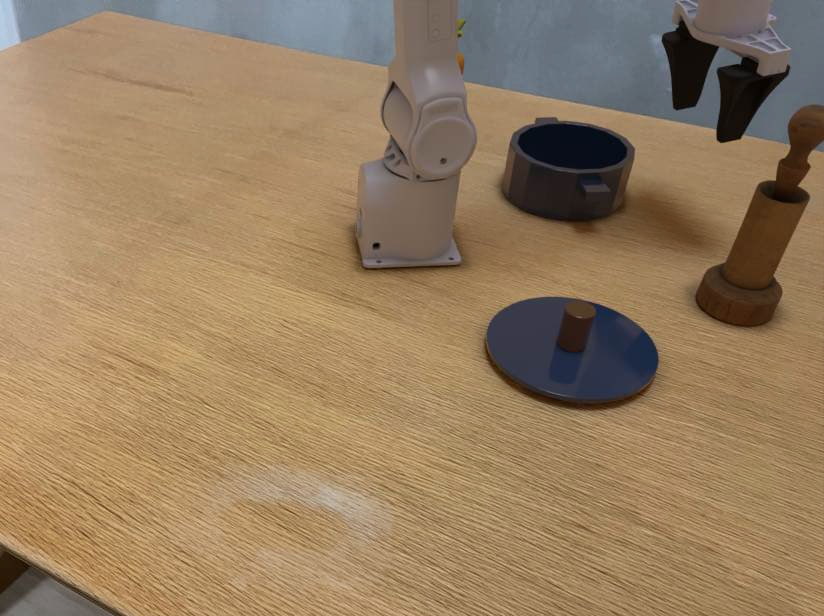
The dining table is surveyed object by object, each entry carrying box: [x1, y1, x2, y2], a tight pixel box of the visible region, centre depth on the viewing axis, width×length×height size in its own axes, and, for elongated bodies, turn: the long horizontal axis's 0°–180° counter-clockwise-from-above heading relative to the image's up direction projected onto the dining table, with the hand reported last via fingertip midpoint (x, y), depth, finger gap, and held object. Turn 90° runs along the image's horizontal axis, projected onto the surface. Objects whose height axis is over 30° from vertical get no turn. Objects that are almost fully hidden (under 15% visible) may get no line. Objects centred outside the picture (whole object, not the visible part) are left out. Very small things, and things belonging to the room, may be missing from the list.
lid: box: [485, 296, 660, 404], centre depth 67 cm, size 14×14×5 cm
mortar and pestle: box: [695, 103, 824, 327], centre depth 68 cm, size 7×6×18 cm
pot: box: [501, 116, 636, 222], centre depth 88 cm, size 13×18×5 cm
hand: (705, 123), depth 79 cm, fingers open, 7 cm apart
